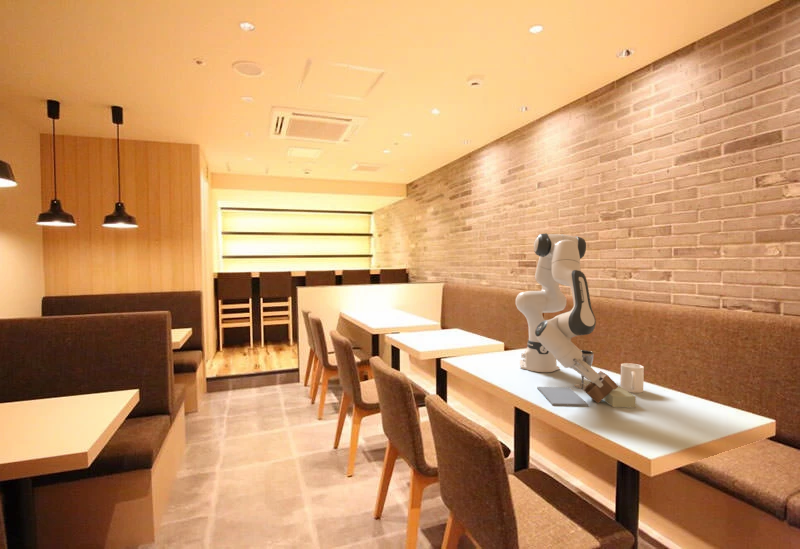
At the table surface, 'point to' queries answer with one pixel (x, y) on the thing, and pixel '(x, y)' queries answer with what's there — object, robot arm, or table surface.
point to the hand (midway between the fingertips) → (595, 382)
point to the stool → (601, 392)
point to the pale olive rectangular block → (620, 398)
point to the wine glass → (588, 359)
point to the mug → (632, 377)
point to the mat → (562, 396)
